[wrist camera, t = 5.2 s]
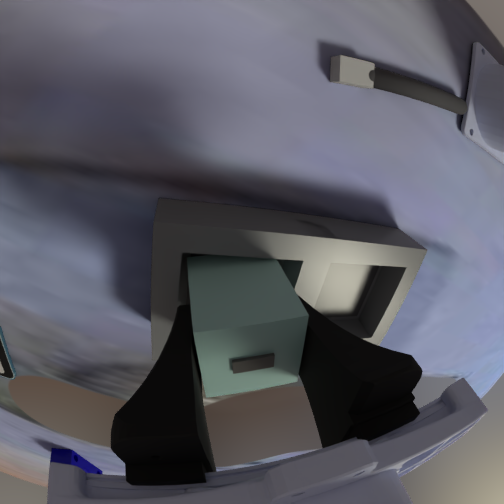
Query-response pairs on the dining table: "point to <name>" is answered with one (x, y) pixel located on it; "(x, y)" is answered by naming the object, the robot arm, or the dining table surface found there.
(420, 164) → the dining table surface
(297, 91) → the dining table surface
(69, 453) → the cable holder
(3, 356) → the smartphone
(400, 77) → the cable piece
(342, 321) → the grey piece
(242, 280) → the block
